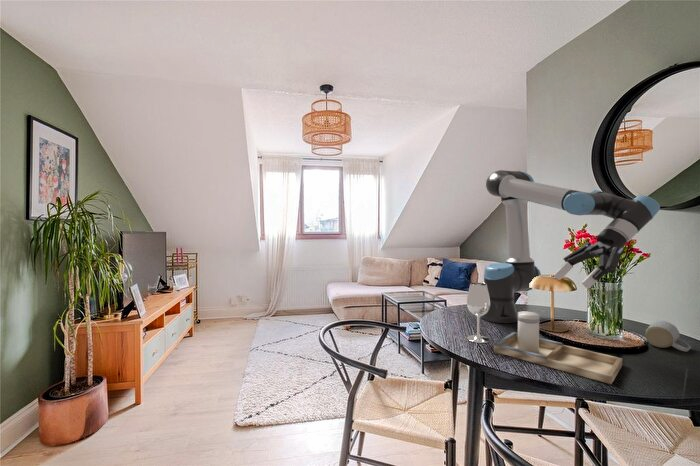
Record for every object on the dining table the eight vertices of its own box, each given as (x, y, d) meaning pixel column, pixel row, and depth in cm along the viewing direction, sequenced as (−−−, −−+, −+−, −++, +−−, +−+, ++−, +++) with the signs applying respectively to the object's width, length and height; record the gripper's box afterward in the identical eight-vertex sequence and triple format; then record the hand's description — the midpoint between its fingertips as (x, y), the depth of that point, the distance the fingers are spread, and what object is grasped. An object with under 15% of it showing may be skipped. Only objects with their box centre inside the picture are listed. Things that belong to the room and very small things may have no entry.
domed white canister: (514, 350, 106) (514, 314, 106) (521, 345, 111) (521, 310, 110) (535, 356, 102) (535, 318, 102) (541, 350, 106) (542, 313, 106)
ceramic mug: (643, 345, 112) (644, 322, 111) (649, 339, 117) (650, 318, 116) (688, 355, 103) (689, 331, 103) (692, 348, 109) (693, 325, 108)
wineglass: (491, 344, 113) (491, 286, 113) (466, 342, 116) (466, 285, 115) (489, 337, 121) (489, 282, 120) (466, 334, 123) (466, 281, 123)
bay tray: (493, 352, 106) (493, 343, 106) (513, 340, 117) (513, 331, 117) (611, 386, 84) (611, 374, 84) (622, 366, 95) (622, 356, 95)
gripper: (659, 247, 97) (607, 298, 97) (594, 240, 122) (553, 281, 122) (642, 229, 96) (590, 281, 97) (580, 226, 121) (539, 267, 122)
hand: (569, 281), depth 110 cm, fingers open, 13 cm apart
